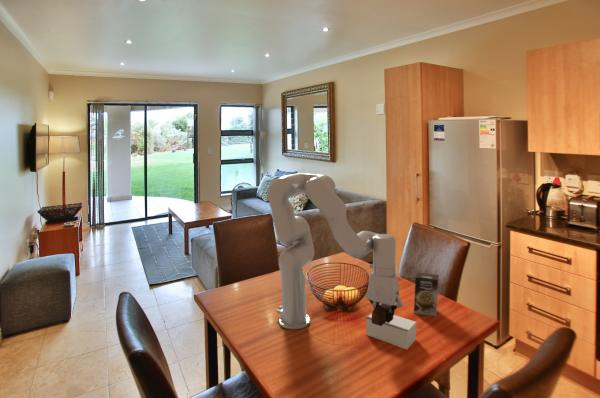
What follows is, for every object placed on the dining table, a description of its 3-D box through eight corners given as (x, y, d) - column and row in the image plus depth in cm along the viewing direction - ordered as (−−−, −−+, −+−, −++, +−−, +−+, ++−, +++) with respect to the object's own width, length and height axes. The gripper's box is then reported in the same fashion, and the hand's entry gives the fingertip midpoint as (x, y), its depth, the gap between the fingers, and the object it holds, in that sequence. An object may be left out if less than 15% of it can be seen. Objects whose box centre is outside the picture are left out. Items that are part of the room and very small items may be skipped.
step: (366, 334, 137) (366, 316, 136) (376, 326, 143) (376, 308, 142) (406, 349, 127) (407, 330, 126) (415, 339, 133) (416, 321, 132)
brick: (381, 327, 123) (382, 314, 122) (371, 323, 126) (371, 311, 125) (395, 315, 131) (395, 302, 130) (385, 312, 134) (385, 300, 133)
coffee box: (413, 313, 153) (414, 277, 150) (414, 306, 158) (416, 271, 156) (436, 317, 149) (438, 280, 146) (437, 310, 155) (438, 274, 152)
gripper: (357, 268, 128) (357, 316, 131) (402, 278, 117) (401, 331, 120) (367, 262, 133) (367, 308, 136) (411, 271, 123) (410, 322, 126)
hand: (383, 318), depth 128 cm, fingers closed on brick, 4 cm apart
